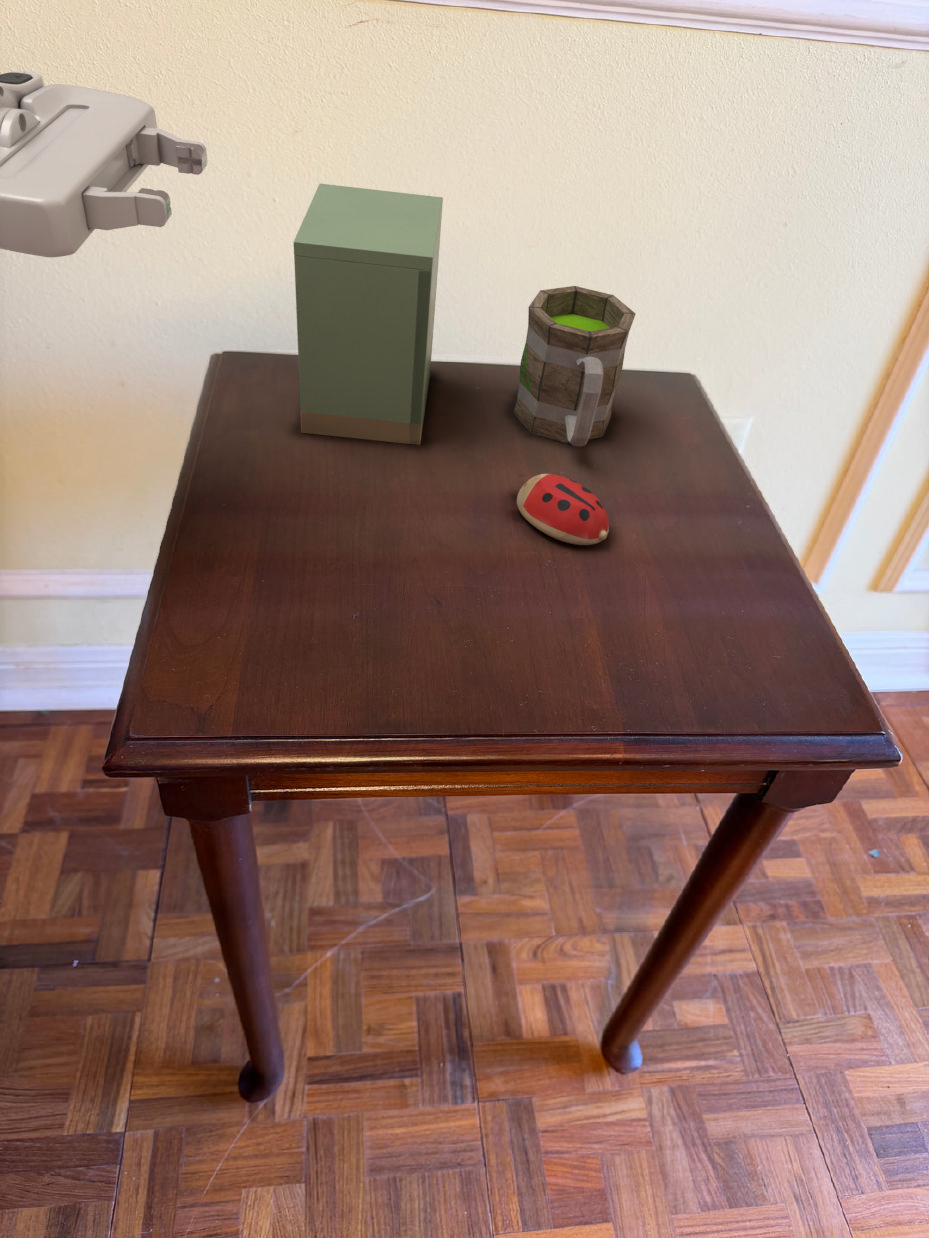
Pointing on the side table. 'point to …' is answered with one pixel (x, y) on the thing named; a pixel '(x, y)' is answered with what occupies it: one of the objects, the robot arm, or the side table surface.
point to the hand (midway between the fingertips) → (187, 183)
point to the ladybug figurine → (563, 509)
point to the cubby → (366, 311)
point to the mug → (571, 363)
